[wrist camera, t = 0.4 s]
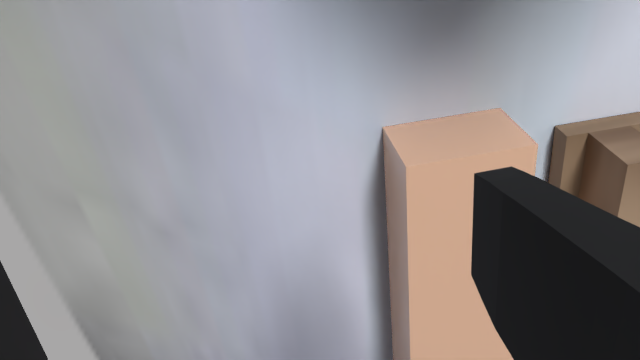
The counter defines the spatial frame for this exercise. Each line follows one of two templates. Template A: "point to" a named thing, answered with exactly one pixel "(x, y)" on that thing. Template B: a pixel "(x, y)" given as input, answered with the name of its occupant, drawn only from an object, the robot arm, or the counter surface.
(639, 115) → the brown wooden stand
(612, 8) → the counter surface
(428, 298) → the clay strip
